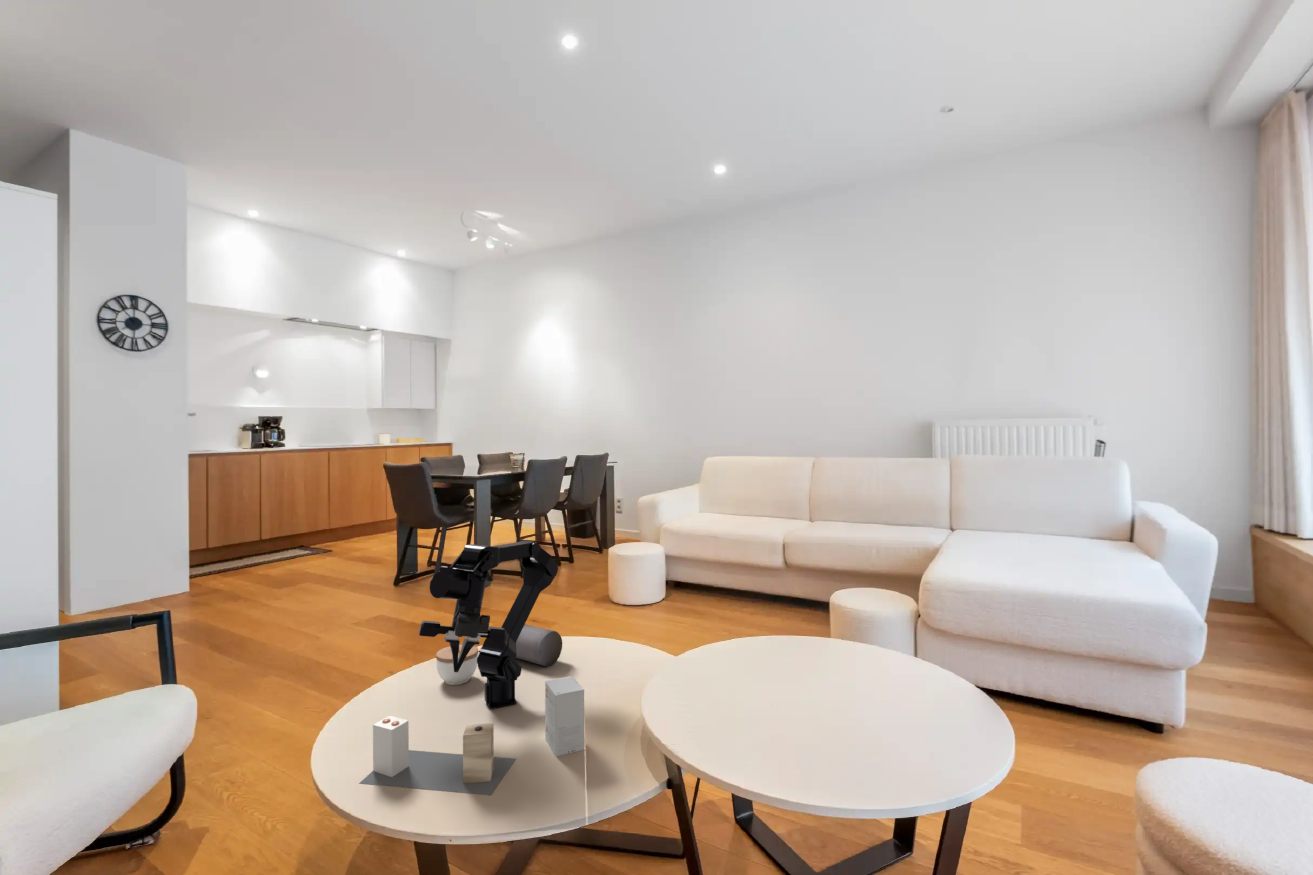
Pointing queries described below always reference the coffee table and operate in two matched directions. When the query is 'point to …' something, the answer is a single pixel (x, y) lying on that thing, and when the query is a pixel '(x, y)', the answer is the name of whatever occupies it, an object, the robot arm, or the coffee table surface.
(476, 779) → the tile one
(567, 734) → the small box
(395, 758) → the tile two
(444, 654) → the lidded jar
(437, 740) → the coffee table surface
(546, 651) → the pillar candle
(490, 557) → the robot arm
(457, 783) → the mat
